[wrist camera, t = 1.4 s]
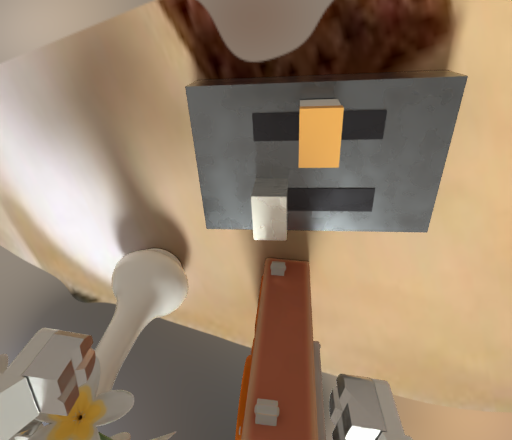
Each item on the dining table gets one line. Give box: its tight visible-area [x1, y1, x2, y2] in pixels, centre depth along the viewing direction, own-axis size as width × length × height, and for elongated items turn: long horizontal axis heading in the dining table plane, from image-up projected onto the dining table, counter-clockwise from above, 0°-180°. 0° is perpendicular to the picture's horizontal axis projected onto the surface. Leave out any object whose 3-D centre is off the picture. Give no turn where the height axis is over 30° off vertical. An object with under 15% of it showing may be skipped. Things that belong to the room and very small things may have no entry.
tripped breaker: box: [299, 99, 344, 168], centre depth 26 cm, size 3×4×4 cm
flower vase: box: [0, 248, 188, 440], centre depth 32 cm, size 13×18×25 cm
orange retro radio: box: [235, 258, 326, 440], centre depth 34 cm, size 21×7×15 cm
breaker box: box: [185, 70, 468, 241], centre depth 29 cm, size 22×14×8 cm, turn 93°
